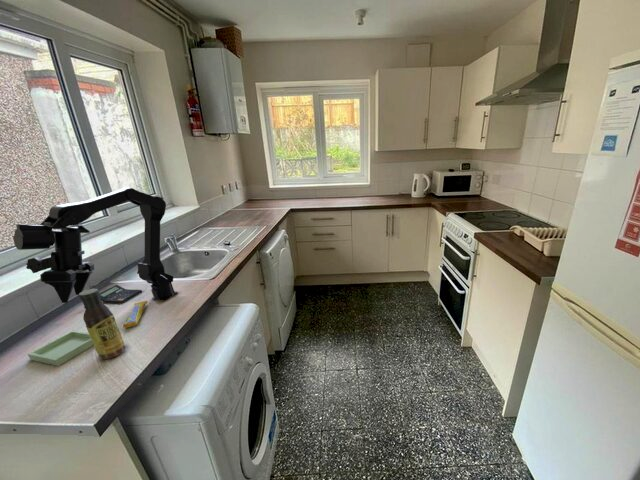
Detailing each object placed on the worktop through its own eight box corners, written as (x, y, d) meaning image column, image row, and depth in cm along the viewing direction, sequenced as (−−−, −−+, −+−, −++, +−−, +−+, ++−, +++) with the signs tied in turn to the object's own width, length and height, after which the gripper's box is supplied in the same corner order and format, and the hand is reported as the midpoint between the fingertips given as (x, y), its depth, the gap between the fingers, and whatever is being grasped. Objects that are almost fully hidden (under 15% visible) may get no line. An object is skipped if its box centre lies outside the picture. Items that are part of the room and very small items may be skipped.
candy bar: (137, 327, 95) (136, 322, 94) (122, 330, 94) (120, 325, 93) (148, 303, 109) (146, 299, 109) (135, 306, 108) (133, 302, 107)
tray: (75, 335, 92) (73, 330, 92) (101, 339, 89) (99, 334, 89) (30, 359, 82) (27, 354, 81) (58, 366, 79) (55, 360, 78)
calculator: (122, 303, 111) (119, 296, 110) (96, 302, 113) (94, 295, 111) (142, 291, 119) (139, 285, 118) (118, 290, 121) (115, 284, 120)
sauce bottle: (111, 361, 80) (82, 299, 72) (94, 359, 81) (63, 297, 73) (132, 346, 86) (107, 287, 78) (115, 344, 87) (89, 286, 79)
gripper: (48, 244, 90) (51, 292, 93) (10, 251, 74) (16, 309, 76) (93, 245, 95) (96, 290, 97) (67, 251, 79) (71, 306, 81)
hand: (71, 298), depth 88 cm, fingers open, 9 cm apart
